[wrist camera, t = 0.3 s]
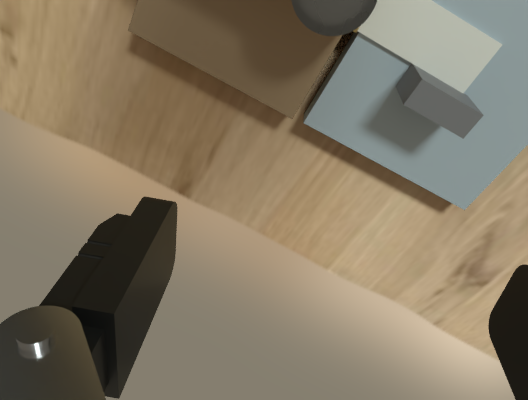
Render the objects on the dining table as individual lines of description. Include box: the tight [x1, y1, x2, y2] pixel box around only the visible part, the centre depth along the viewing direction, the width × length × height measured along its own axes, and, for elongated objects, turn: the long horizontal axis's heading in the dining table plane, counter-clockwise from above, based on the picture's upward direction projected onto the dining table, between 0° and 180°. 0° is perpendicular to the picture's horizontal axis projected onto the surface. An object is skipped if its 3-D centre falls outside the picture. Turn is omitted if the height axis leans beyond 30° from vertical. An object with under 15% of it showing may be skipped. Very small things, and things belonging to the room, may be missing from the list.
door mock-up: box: [128, 0, 528, 210], centre depth 30 cm, size 20×31×6 cm, turn 63°
